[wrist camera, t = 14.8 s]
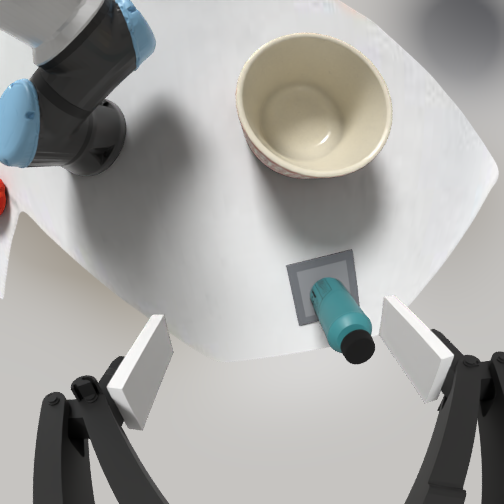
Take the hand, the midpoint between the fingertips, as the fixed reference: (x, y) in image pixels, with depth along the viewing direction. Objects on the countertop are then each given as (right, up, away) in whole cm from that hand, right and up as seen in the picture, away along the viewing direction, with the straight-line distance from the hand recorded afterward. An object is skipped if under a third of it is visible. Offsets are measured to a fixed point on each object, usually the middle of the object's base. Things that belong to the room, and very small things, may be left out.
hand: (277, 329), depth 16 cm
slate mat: (+12, -2, +33) cm, 36 cm away
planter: (+7, +26, +27) cm, 38 cm away
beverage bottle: (+12, -2, +33) cm, 35 cm away
